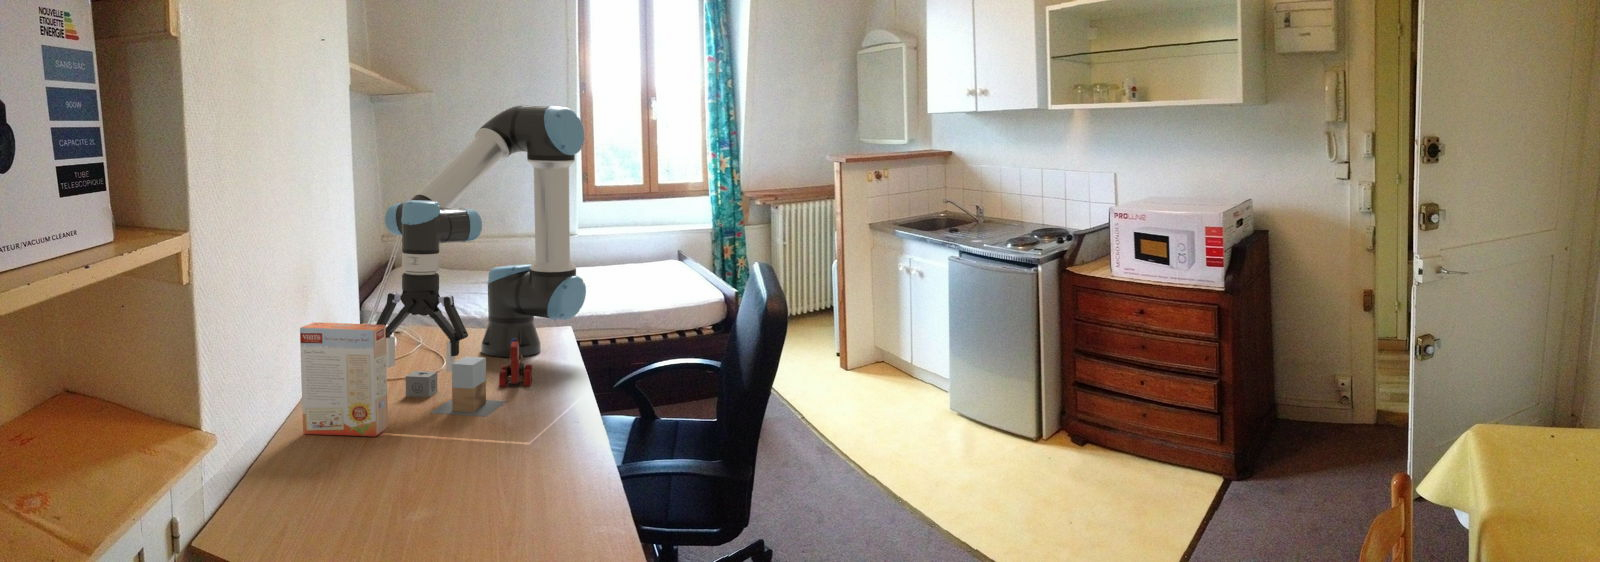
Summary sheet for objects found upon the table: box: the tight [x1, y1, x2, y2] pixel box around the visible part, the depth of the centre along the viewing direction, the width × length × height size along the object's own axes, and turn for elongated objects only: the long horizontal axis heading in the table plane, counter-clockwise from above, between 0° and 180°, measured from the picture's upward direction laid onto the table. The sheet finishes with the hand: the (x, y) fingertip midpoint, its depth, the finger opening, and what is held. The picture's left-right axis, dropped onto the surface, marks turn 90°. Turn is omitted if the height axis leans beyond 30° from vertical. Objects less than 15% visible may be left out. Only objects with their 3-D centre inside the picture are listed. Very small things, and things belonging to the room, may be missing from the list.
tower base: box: [451, 380, 487, 412], centre depth 207 cm, size 7×4×5 cm, turn 176°
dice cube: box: [405, 370, 438, 399], centre depth 215 cm, size 5×5×5 cm
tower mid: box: [451, 356, 487, 389], centre depth 206 cm, size 7×4×5 cm, turn 176°
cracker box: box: [299, 322, 389, 438], centre depth 187 cm, size 14×6×21 cm, turn 90°
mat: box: [429, 398, 508, 418], centre depth 207 cm, size 12×12×1 cm
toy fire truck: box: [498, 338, 533, 388], centre depth 228 cm, size 7×12×10 cm, turn 13°
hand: (420, 368), depth 215 cm, fingers open, 13 cm apart
